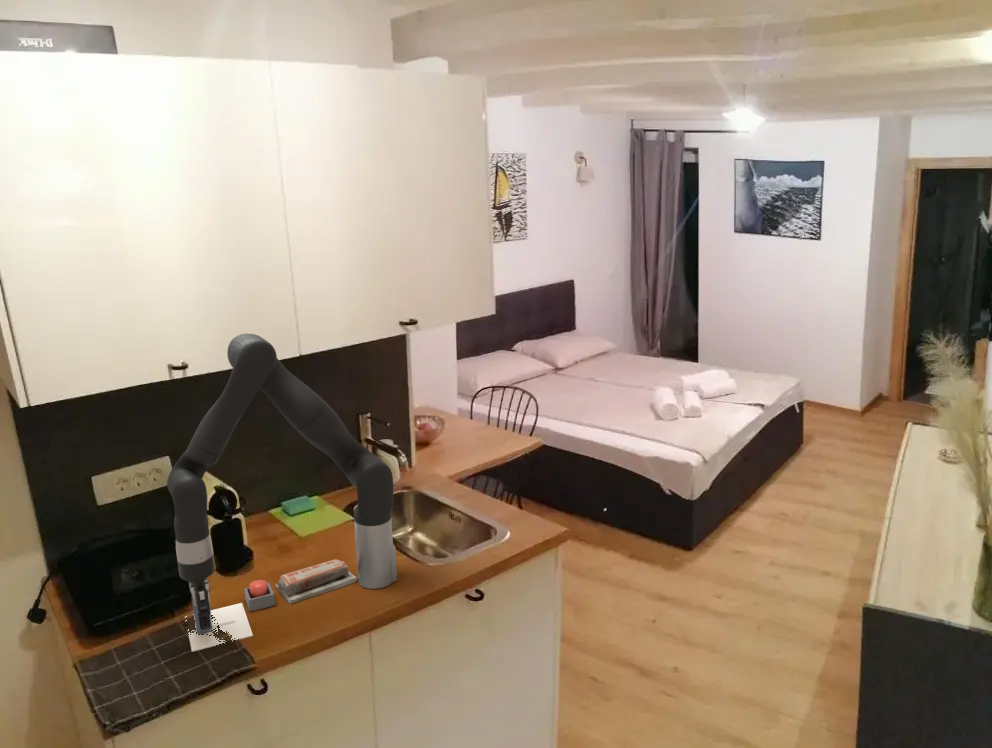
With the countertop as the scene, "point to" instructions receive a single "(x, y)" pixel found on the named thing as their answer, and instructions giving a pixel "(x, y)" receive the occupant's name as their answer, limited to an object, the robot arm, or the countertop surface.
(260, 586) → the button
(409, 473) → the countertop surface
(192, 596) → the marker
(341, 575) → the packaged product
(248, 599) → the button base
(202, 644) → the drawing pad
